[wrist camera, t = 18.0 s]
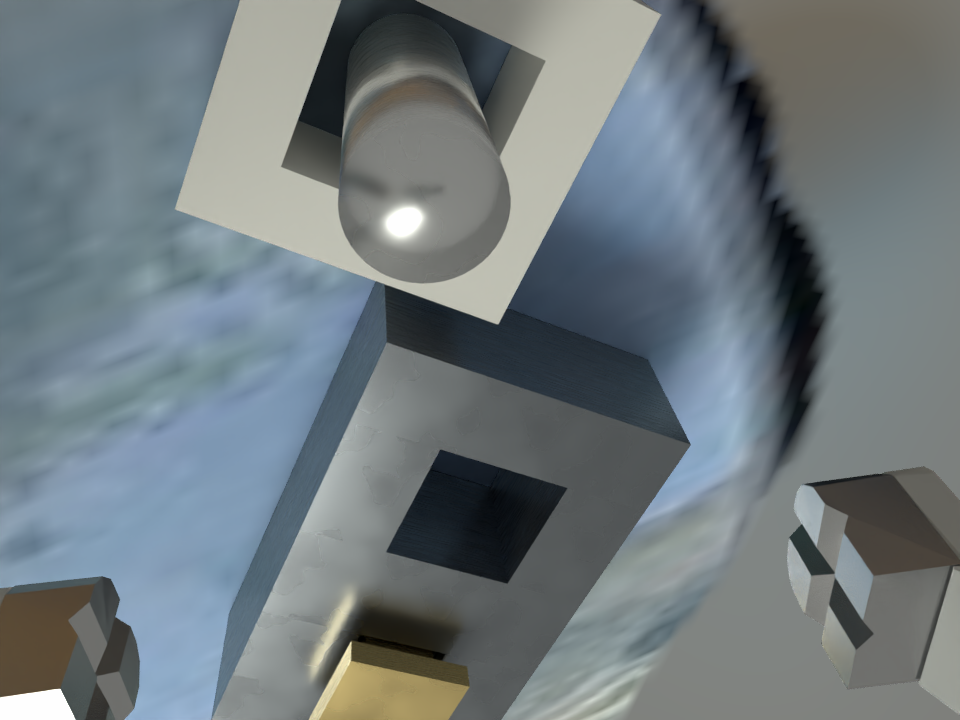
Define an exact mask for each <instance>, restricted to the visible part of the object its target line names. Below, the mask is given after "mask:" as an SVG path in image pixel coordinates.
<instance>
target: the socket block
mask: <svg viewBox="0 0 960 720" xmlns="http://www.w3.org/2000/svg"><path fill="white" fill-rule="evenodd" d="M690 445H691V444H690V442H689V440H688V438H687V436H686V434H685V432H684V430H683V428H682V426H681V424H680V422H679V421H678V419H677V417H676V415H675V413H674V411H673V409H672V407H671V405H670V403H669V401H668V399H667V397H666V395H665V393H664V391H663V389H662V387H661V385H660V383H659V381H658V379H657V377H656V375H655V373H654V371H653V369H652V367H651V365H650V363H649V361H648V360H647V359H644V358H641V357H639V356H636V355H633V354H630V353H628V352H625V351H622V350H619V349H617V348H614V347H611V346H608V345H606V344H603V343H600V342H597V341H595V340H592V339H589V338H586V337H584V336H581V335H578V334H575V333H573V332H570V331H567V330H564V329H562V328H559V327H556V326H553V325H551V324H548V323H545V322H542V321H540V320H537V319H534V318H531V317H529V316H526V315H523V314H520V313H518V312H515V311H512V310H509V309H506V311H505V313H504V315H503V316H502V318H501V320H500V322H499V324H495V323H492V322H489V321H487V320H484V319H481V318H478V317H475V316H472V315H470V314H467V313H464V312H461V311H458V310H456V309H453V308H450V307H447V306H444V305H442V304H439V303H436V302H433V301H430V300H428V299H425V298H422V297H419V296H416V295H414V294H411V293H408V292H405V291H402V290H400V289H397V288H394V287H391V286H388V285H386V284H383V283H380V282H377V281H376V282H375V285H374V287H373V289H372V291H371V294H370V296H369V298H368V300H367V303H366V305H365V307H364V310H363V312H362V314H361V316H360V319H359V321H358V323H357V325H356V328H355V330H354V332H353V334H352V337H351V339H350V341H349V344H348V346H347V348H346V350H345V353H344V355H343V357H342V359H341V362H340V364H339V366H338V368H337V371H336V373H335V375H334V377H333V380H332V382H331V384H330V387H329V389H328V391H327V393H326V396H325V398H324V400H323V402H322V405H321V407H320V409H319V411H318V414H317V416H316V418H315V421H314V423H313V425H312V427H311V430H310V432H309V434H308V436H307V439H306V441H305V443H304V445H303V448H302V450H301V452H300V454H299V457H298V459H297V461H296V464H295V466H294V468H293V470H292V473H291V475H290V477H289V479H288V482H287V484H286V486H285V488H284V491H283V493H282V495H281V498H280V500H279V502H278V504H277V507H276V509H275V511H274V513H273V516H272V518H271V520H270V522H269V525H268V527H267V529H266V531H265V534H264V536H263V538H262V541H261V543H260V545H259V547H258V550H257V552H256V554H255V556H254V559H253V561H252V563H251V565H250V568H249V570H248V572H247V575H246V577H245V579H244V581H243V584H242V586H241V588H240V590H239V593H238V595H237V597H236V599H235V602H234V604H233V606H232V608H231V611H230V613H229V617H228V623H227V629H226V635H225V641H224V647H223V653H222V659H221V665H220V671H219V677H218V683H217V689H216V694H215V700H214V706H213V712H212V718H211V720H309V718H310V716H311V714H312V713H313V711H314V709H315V707H316V705H317V703H318V701H319V700H320V698H321V696H322V694H323V692H324V690H325V688H326V687H327V685H328V683H329V681H330V679H331V677H332V676H333V674H334V672H335V670H336V668H337V666H338V664H339V663H340V661H341V659H342V657H343V655H344V653H345V651H346V650H347V648H348V646H349V644H350V642H351V640H352V641H356V642H357V640H358V638H359V636H360V634H361V635H365V636H370V637H374V638H378V639H383V640H387V641H392V642H396V643H400V644H405V645H409V646H414V647H418V648H422V649H427V650H431V651H433V658H434V659H436V660H440V661H445V662H449V663H454V664H458V665H463V666H467V669H468V677H469V686H470V687H469V689H468V690H467V692H466V693H465V695H464V696H463V698H462V699H461V701H460V703H459V704H458V706H457V707H456V709H455V710H454V712H453V713H452V715H451V716H450V718H449V719H448V720H501V719H502V718H503V716H504V715H505V713H506V712H507V710H508V709H509V708H510V706H511V705H512V703H513V702H514V700H515V699H516V697H517V696H518V694H519V693H520V692H521V690H522V689H523V687H524V686H525V684H526V683H527V681H528V680H529V679H530V677H531V676H532V674H533V673H534V671H535V670H536V668H537V667H538V665H539V664H540V663H541V661H542V660H543V658H544V657H545V655H546V654H547V652H548V651H549V650H550V648H551V647H552V645H553V644H554V642H555V641H556V639H557V638H558V636H559V635H560V634H561V632H562V631H563V629H564V628H565V626H566V625H567V623H568V622H569V621H570V619H571V618H572V616H573V615H574V613H575V612H576V610H577V609H578V607H579V606H580V605H581V603H582V602H583V600H584V599H585V597H586V596H587V594H588V593H589V592H590V590H591V589H592V587H593V586H594V584H595V583H596V581H597V580H598V579H599V577H600V576H601V574H602V573H603V571H604V570H605V568H606V567H607V565H608V564H609V563H610V561H611V560H612V558H613V557H614V555H615V554H616V552H617V551H618V550H619V548H620V547H621V545H622V544H623V542H624V541H625V539H626V538H627V536H628V535H629V534H630V532H631V531H632V529H633V528H634V526H635V525H636V523H637V522H638V521H639V519H640V518H641V516H642V515H643V513H644V512H645V510H646V509H647V507H648V506H649V505H650V503H651V502H652V500H653V499H654V497H655V496H656V494H657V493H658V492H659V490H660V489H661V487H662V486H663V484H664V483H665V481H666V480H667V479H668V477H669V476H670V474H671V473H672V471H673V470H674V468H675V467H676V465H677V464H678V463H679V461H680V460H681V458H682V457H683V455H684V454H685V452H686V451H687V450H688V448H689V447H690ZM440 450H444V451H447V452H450V453H454V454H457V455H460V456H464V457H467V458H470V459H473V460H477V461H480V462H483V463H487V464H490V465H493V466H497V467H500V468H501V469H500V471H499V473H498V474H497V476H496V478H495V480H494V481H493V483H492V485H491V486H490V487H487V486H484V485H480V484H477V483H474V482H470V481H467V480H463V479H460V478H457V477H453V476H450V475H446V474H443V473H440V472H436V471H433V470H430V468H431V466H432V464H433V462H434V460H435V458H436V457H437V455H438V453H439V451H440Z"/></svg>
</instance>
